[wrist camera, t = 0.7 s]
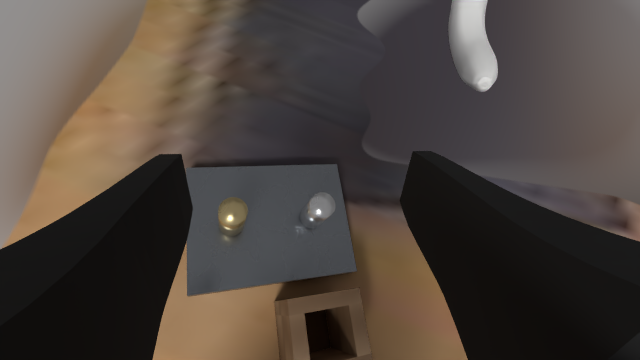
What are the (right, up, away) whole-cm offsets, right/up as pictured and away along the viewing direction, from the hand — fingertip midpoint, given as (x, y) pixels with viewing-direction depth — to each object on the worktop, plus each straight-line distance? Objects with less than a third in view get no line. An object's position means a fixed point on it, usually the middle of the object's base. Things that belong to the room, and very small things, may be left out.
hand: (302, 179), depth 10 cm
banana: (+17, +16, +30) cm, 38 cm away
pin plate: (-3, -4, +15) cm, 15 cm away
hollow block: (0, -11, +13) cm, 17 cm away
